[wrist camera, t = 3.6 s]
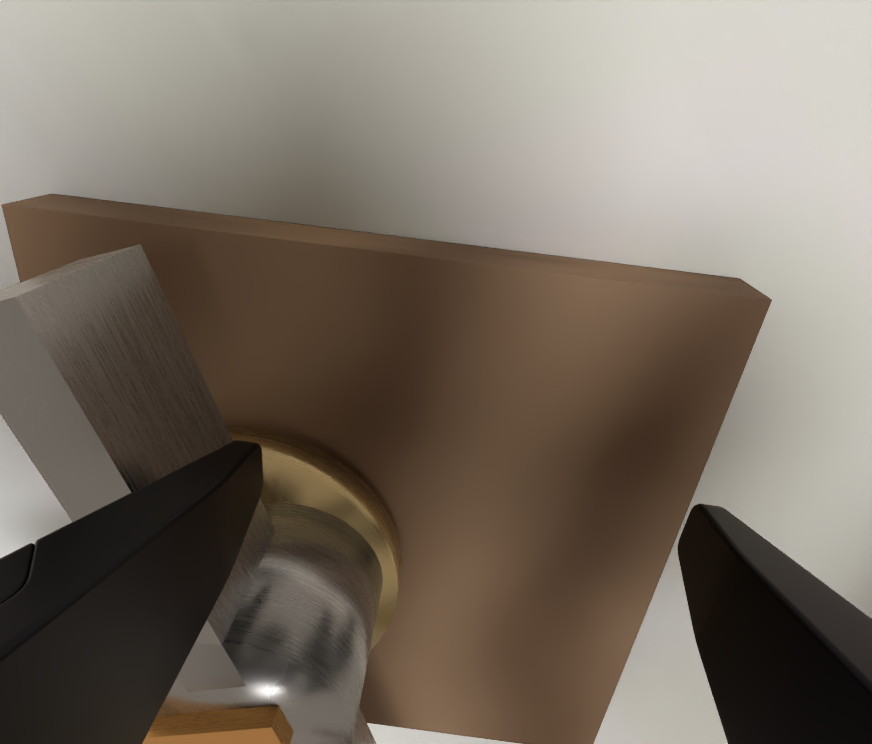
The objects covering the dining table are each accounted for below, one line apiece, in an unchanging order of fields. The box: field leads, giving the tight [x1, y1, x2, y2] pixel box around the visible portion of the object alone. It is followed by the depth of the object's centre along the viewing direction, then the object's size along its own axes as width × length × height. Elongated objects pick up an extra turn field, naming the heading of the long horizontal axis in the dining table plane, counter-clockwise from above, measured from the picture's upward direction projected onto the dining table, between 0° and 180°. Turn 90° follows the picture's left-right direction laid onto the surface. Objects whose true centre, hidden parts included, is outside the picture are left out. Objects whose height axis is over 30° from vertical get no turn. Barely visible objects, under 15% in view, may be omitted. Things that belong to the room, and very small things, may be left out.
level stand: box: [2, 194, 772, 744], centre depth 15 cm, size 16×16×3 cm
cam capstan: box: [0, 244, 402, 744], centre depth 13 cm, size 11×17×5 cm, turn 14°
